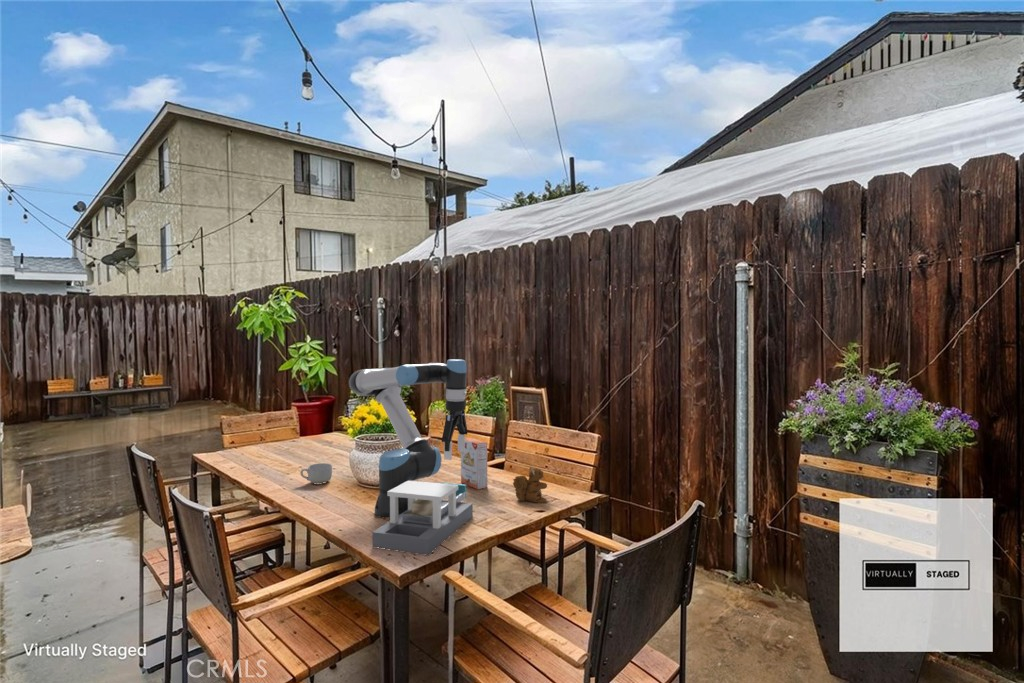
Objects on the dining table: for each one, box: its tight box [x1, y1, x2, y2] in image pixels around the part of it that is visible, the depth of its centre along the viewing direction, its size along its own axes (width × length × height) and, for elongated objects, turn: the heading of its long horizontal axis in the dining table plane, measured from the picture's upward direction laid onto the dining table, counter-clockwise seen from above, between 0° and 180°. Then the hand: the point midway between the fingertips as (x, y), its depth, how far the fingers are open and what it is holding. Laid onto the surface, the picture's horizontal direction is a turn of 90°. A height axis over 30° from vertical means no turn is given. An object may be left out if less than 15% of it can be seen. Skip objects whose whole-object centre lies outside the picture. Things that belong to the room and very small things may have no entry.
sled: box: [402, 482, 467, 525], centre depth 184 cm, size 11×30×5 cm, turn 162°
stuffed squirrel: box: [512, 467, 548, 504], centre depth 211 cm, size 10×14×13 cm
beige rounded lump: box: [412, 499, 433, 516], centre depth 175 cm, size 6×6×6 cm
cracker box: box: [460, 437, 488, 490], centre depth 231 cm, size 14×6×21 cm, turn 37°
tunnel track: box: [371, 480, 474, 556], centre depth 177 cm, size 20×36×16 cm, turn 162°
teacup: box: [300, 462, 333, 484], centre depth 236 cm, size 14×11×8 cm
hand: (454, 455), depth 193 cm, fingers open, 13 cm apart
